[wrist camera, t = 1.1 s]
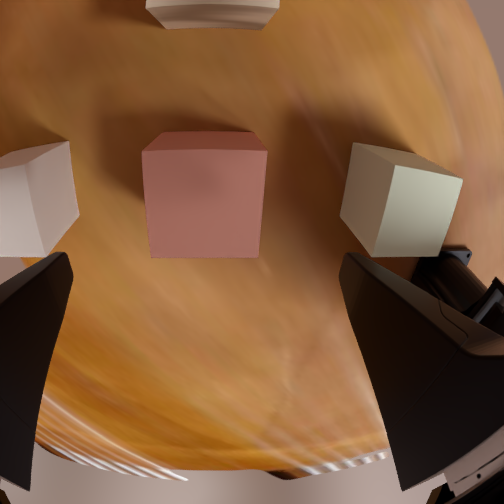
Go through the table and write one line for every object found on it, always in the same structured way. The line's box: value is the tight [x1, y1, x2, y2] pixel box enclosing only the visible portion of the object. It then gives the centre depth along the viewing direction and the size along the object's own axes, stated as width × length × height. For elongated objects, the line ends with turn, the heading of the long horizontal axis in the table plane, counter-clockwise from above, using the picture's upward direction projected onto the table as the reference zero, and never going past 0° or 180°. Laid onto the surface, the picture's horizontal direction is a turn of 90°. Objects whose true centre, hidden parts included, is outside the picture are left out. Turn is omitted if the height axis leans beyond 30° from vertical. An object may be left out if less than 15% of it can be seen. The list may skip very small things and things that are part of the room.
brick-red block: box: [142, 131, 268, 258], centre depth 14 cm, size 5×5×5 cm
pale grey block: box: [0, 141, 80, 257], centre depth 13 cm, size 5×5×5 cm
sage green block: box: [340, 142, 463, 257], centre depth 16 cm, size 5×5×5 cm
